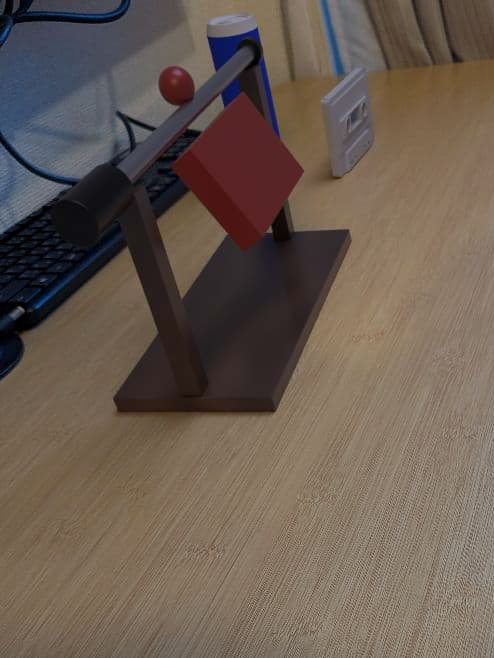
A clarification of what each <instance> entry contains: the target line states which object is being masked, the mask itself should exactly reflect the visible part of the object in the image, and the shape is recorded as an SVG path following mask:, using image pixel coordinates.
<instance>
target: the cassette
mask: <svg viewBox="0 0 494 658" xmlns="http://www.w3.org/2000/svg"><path fill="white" fill-rule="evenodd" d="M320 108H321V115H322V121H323V126H324V127H323V128H324V132H325V138H326V145H327V150H328V157H329V162H330V169H331V174H332V177H333V178H342V177H344V175H345V174H346V173H348V172H349V173H350V171H351V170H352V169H353V168H354V166H355V165H356V164H357V163H358V162H359V161H360V159H362V157H363V156H364V155H365V154H366V152H368V150H369V149H370V148H371V147H372V146H373V141H374V140H375V131H374V122H373V115H372V106H371V99H370V91H369V84H368V76H367V68H366V66H356V67H355V68H354V69H353V70H352V71H351V72H350V73H349V74H347V76H345V78H343V79H342V80H341V81H340V82H339V83H338V84H337V85H336V86H335V87H334V88H333V89H331V91H329V92H328V93H327V94H326V95H325V96H324V97H323V98H322V99H321V100H320Z"/></svg>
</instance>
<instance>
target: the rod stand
mask: <svg viewBox="0 0 494 658" xmlns="http://www.w3.org/2000/svg"><path fill="white" fill-rule="evenodd" d="M237 78H238V82H239V87H240V91H241V93H242V92H244V93H245V94H246V95H247V97H248V98H249V99H250V100H251V102H252V103H253V104H254V106H255V107H256V108H257V110H258V111H259V112H260V113H261V115H262V116H263V117H264V119H265V120H266V121H267V123H268V124H269V125H270V127H271V128H272V129H273V125H272V120H271V115H270V110H269V106H268V101H267V96H266V91H265V86H264V81H263V77H262V72H261V67H260V64H253V65H248V66H247V67H246V68H245V69H244V70H243V71H242V73H241V74H240V75H239V76H238V77H237ZM133 188H134V199H133V202H132V204H131V205H130V206H129V207H128V208H127V209H126V210H125V212H124V213H123V214H122V215H121V216H120V217H119V218H118V219H117V221H118V223H119V227H120V229H121V231H122V233H123V237H124V241H125V243H126V246H127V248H128V252H129V254H130V257H131V259H132V263H133V265H134V268H135V271H136V274H137V276H138V279H139V283H140V285H141V288H142V291H143V293H144V296H145V299H146V302H147V305H148V307H149V310H150V313H151V317H152V319H153V321H154V324H155V327H156V330H157V334H156V335H155V337H154V338H153V340H152V341H151V343H150V344H149V345H148V347H147V348H146V350H145V351H144V353H143V354H142V356H141V357H140V359H138V361H137V363H136V364H135V366H134V367H133V369H132V370H131V371H130V373H129V375H128V376H127V378H125V380H124V382H122V384H121V385H120V387H119V388H118V390H117V391H116V393H115V394H114V396H113V397H112V400H113V403H114V405H115V408H116V410H117V412H120V413H123V412H127V413H128V412H135V413H137V412H141V413H142V412H144V413H145V412H146V413H147V412H276V410H277V408H278V406H279V404H280V402H281V400H282V398H283V395H284V393H285V390H286V388H287V386H288V384H289V382H290V379H291V377H292V374H293V373H294V370H295V368H296V365H297V363H298V361H299V359H300V358H301V357H300V356H301V354H302V352H303V350H304V348H305V346H306V343H307V341H308V339H309V337H310V334H311V332H312V330H313V327H314V326H315V323H316V321H317V318H318V317H319V315H320V312H321V310H322V307H323V305H324V303H325V302H326V299H327V297H328V295H329V293H330V290H331V288H332V286H333V283H334V282H335V279H336V277H337V274H338V272H339V270H340V267H341V265H342V263H343V261H344V259H345V257H346V254H347V252H348V249H349V247H350V246H351V242H352V237H351V230H350V229H349V228H343V229H342V228H341V229H322V230H320V229H319V230H299V231H298V230H297V231H296V230H295V226H294V221H293V217H292V213H291V208H290V202H289V198H288V199H287V200H286V202H285V203H284V205H283V207H282V208H281V210H280V211H279V213H278V215H277V216H276V218H275V219H274V221H273V223H272V224H271V226H270V228H271V232H266V234H265V235H264V237H263V238H262V239H261V240H259V241H258V242H257V243H255V244H254V245H253V246H251V247H250V248H249V249H247V250H246V251H245V252H243V251H242V250H241V248H240V247H239V246H238V245H237V244H236V243H235V242H234V240H233V239H232V238H231V237H230V236H229V235H228V234H226V235H225V236H224V238H223V239H222V241H221V242H220V244H219V245H218V247H217V248H216V249H215V251H214V252H213V253H212V255H211V257H210V258H209V260H208V261H207V262H206V263H205V265H204V267H203V268H202V270H201V271H200V273H199V274H198V275H197V277H196V278H195V280H194V281H193V282H192V284H191V285H190V287H189V288H188V290H187V291H186V292H185V294H184V295H183V297H182V296H181V293H180V290H179V287H178V283H177V281H176V277H175V274H174V272H173V268H172V266H171V263H170V258H169V256H168V253H167V249H166V247H165V244H164V241H163V237H162V234H161V230H160V228H159V226H158V222H157V219H156V216H155V213H154V210H153V206H152V203H151V200H150V197H149V193H148V191H147V187H146V185H144V184H142V185H133Z"/></svg>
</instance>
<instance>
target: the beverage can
mask: <svg viewBox="0 0 494 658" xmlns="http://www.w3.org/2000/svg"><path fill="white" fill-rule="evenodd" d="M205 33H206V39H207V43H208V46H209V50H210V51H209V52H210V55H211V60H212V64H213V67H214V71H215V73H216V72H217V71H218V70H219V69H220V68H221V67H222V66H223V65H224V64H225V63H226V62H227V61H228V60H230V59H231V58H232V57H233V56H234V55H235V54H236V53H237V46H238V44H239V42H240V41H241V40H242V39H243V38H245V37H249V36H250V37H254V38H256V39H257V40H258V41H259V42H260V43H261V44H262V42H261V36H260V31H259V26H258V24H257V22H256V20H255V18H254V16H253V14H252V13H249V12H234V13H227V14H222V15H218V16H215V17H213V18H209V19H208V20H207V21H206V32H205ZM258 64H260V67H261V72H262V77H263V81H264V86H265V91H266V96H267V101H268V106H269V110H270V115H271V120H272V125H273V130H274V132H275V133H276V134H277V136H278V137H279V138H280V140H281V141H282V139H281V135H280V133H281V132H280V130H279V129H280V128H279V125H278V119H277V114H276V110H275V105H274V99H273V96H272V89H271V85H270V80H269V75H268V69H267V66H266V61H265V57H264V54H263V58H262V60H261V61H260V62H259V63H258ZM240 94H241V91H240V87H239V82H238V78H236V79H235V80H234V81H233V82H232V83H231V84H230V85H229V86H228V87H227V88H226V89H225V90H224V91H223V92H222V93H221V94H220V97H221V100H222V104H223V109H224V108H225V107H226V106H227V105H228V104H230V103H231V102H232V101H233V100H234V99H235V98H236V97H237V96H238V95H240Z"/></svg>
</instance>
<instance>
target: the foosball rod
mask: <svg viewBox="0 0 494 658" xmlns="http://www.w3.org/2000/svg"><path fill="white" fill-rule="evenodd" d="M263 55H264V47H263V45H262V42H261V43H260V42H259V41H258V40H257V39H256V38H254V37H250V36H249V37H245V38H243V39H242V40H241V41H240V42H239V44H238V46H237V53H236V54H235V55H234V56H233V57H232V58H231V59H230V60H228V61H227V62H226V63H225V64H224V65H223V66H222V67H221V68H220V69H219V70H218V71H217V72H215V73H213V75H211V76H210V78H208V79H207V80H206V81H205V82H204V83H203V84H202V85H201V86H200V87H199V88H198V89H196V87H195V82H194V79H193V77H192V75H191V74H190V73H189V72H188V71H187V70H186V69H184V68H183V67H181V66H177V65H171V66H168V67H166V68H164V69H163V70H162V71H161V73H160V75H159V77H158V85H157V86H158V90H159V94H160V95H161V97H162V98H163V99H164V100H165V101H166V103H168V104H170V105H171V106H175V107H178V108H177V109H175V110H174V111H173V112H172V114H170V115H169V116H168V117H167V118H166V119H165V120H164V121H163V122H162V123H161V124H160V125H158V127H157V128H155V130H153V131H152V132H151V133H150V134H149V135H148V136H147V137H146V138H145V139H144V140H143V141H142V142H141V143H139V145H138V146H136V147H135V148H134V150H132V151H131V152H130V153H129V154H128V155H127V156H126V157H125V158H123V160H122V161H121V162H120V163H119V164H117V166H115V165H113V164H108V163H102V164H98V165H96V166H95V167H93V169H92V170H90V171H89V172H88V173H87V174H86V175H85V176H84V177H82V178H81V180H79V181H78V182H77V183H76V184H74V186H73V187H71V188H70V189H69V190H68V191H67V192H66V193H65V194H64V195H63V196H61V197H60V198H59V199H58V200H57V201H56V202H54V204H53V206H52V207H51V212H50V220H51V223H52V227H53V228H54V230H55V232H56V233H57V234H58V235H59V236H60V238H61V239H63V240H64V241H65V242H66V243H68V244H70V245H71V246H74V247H77V248H88V247H91V246H94V245H95V244H96V243H97V242H98V241H99V239H100V238H101V237H102V236H104V234H105V233H106V232H107V231H108V230H109V229H110V227H112V226H113V224H114V223H116V221H118V218H119V217H120V216H121V215H122V214H123V213H124V212H125V210H126V209H127V208H128V207H129V206H130V205H131V204H132V202H133V199H134V188H133V186H134V185H133V184H134V183H135V182H136V181H137V179H139V178H140V177H141V176H142V175H143V174H144V172H146V170H147V169H149V167H151V165H153V163H154V162H155V161H156V160H157V159H159V157H161V155H162V154H163V153H164V152H165V151H166V150H167V149H168V148H169V147H171V145H172V144H173V143H174V142H175V141H176V140H177V139H178V138H179V137H180V136H181V135H182V134H183V133H184V132H185V131H186V130H187V129H188V128H189V127H190V126H191V125H192V124H193V123H194V122H195V121H196V120H197V119H198V118H199V116H201V115H202V113H203V112H205V110H206V109H207V108H208V107H209V106H211V104H212V103H213V102H214V101H215V100H216V99H217V98H218V97H219V96H221V93H222V92H223V91H224V90H225V89H226V88H227V87H228V86H229V85H230V84H231V83H232V82H233V81H234V80H235V79H236V78H237V77H238V76H239V75H240V74H241V73H242V71H243V70H244V69H245V68H246V67H247V66H248V65H253V64H258V63H259V62H260V61H261V60H262V58H263ZM280 138H281V137H280ZM280 138H279V137H278V136H277V134H276V133H275V132H274V130H273V129H272V128H271V127H270V125H269V124H268V123H267V121H266V120H265V119H264V117H263V116H262V115H261V113H260V112H259V111H258V110H257V108H256V107H255V106H254V104H253V103H252V102H251V100H250V99H249V98H248V97H247V95H246V94H245V93H244V92H242V93H241V94H240V95H238V96H237V97H236V98H235V99H234V100H233V101H232V102H231V103H230V104H228V105H227V106H226V107H225V108H224V107H223V109H222V110H221V111H220V112H219V113H218V114H217V116H216V117H214V119H213V120H211V122H210V123H209V124H208V125H207V127H205V128H204V129H203V131H202V132H201V133H200V134H199V135H198V136H197V137H196V138H195V139H194V140H193V141H192V142H191V143H190V145H189V146H187V148H186V149H185V150H184V151H183V152H182V153H181V154H180V155H179V156H178V157H177V158H176V159H175V161H174V162H173V163H172V164H171V165H170V168H171V170H172V171H173V172H174V173H175V174H176V175H177V177H178V178H179V179H180V180H181V181H182V182H183V183H184V185H185V186H186V187H187V188H188V189H189V190H190V192H191V193H192V194H193V196H195V198H196V199H197V200H198V201H199V202H200V203H201V205H203V207H204V208H205V209H206V210H207V211H208V213H209V214H210V215H211V216H212V217H213V218H214V219H215V221H216V222H217V223H218V225H219V226H221V228H222V229H223V230H224V232H226V234H227V235H229V236H230V237H231V238H232V239H233V240H234V242H235V243H236V244H237V245H238V246H239V247H240V248H241V250H242V251H243V252H245V251H246V250H247V249H249V248H250V247H251V246H253V245H254V244H255V243H257V242H258V241H259V240H261V239H262V238H263V237H264V235H265V234H266V233H268V231H269V229H270V228H271V224H272V223H273V221H274V219H275V218H276V216H277V215H278V213H279V211H280V210H281V208H282V207H283V205H284V203H285V202H286V200H287V199H288V200H289V197H290V196H291V193H292V192H293V190H294V189H295V187H296V186H297V184H298V182H299V181H300V179H301V178H302V176H303V174H304V173H305V170H304V168H303V167H302V166H301V164H300V162H299V161H297V159H296V158H295V156H294V155H293V154H292V152H291V151H290V150H289V149H288V148H287V146H286V144H285V143H284V142H283V141H282V139H281V140H280Z"/></svg>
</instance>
